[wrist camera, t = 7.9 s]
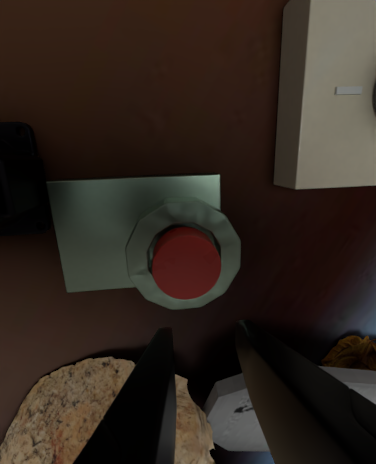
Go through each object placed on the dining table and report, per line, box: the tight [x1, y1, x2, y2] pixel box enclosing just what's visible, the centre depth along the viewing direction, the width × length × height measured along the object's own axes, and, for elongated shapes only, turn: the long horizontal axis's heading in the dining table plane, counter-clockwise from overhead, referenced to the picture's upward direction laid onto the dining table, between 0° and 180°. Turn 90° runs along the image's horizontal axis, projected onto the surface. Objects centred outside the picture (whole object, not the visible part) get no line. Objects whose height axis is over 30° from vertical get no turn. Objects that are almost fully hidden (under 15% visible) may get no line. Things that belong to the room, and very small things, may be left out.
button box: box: [46, 172, 241, 310], centre depth 16 cm, size 11×8×4 cm
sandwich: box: [0, 357, 215, 464], centre depth 19 cm, size 18×14×8 cm
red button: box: [152, 227, 221, 300], centre depth 14 cm, size 4×4×2 cm
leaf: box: [321, 335, 376, 371], centre depth 22 cm, size 6×7×2 cm
